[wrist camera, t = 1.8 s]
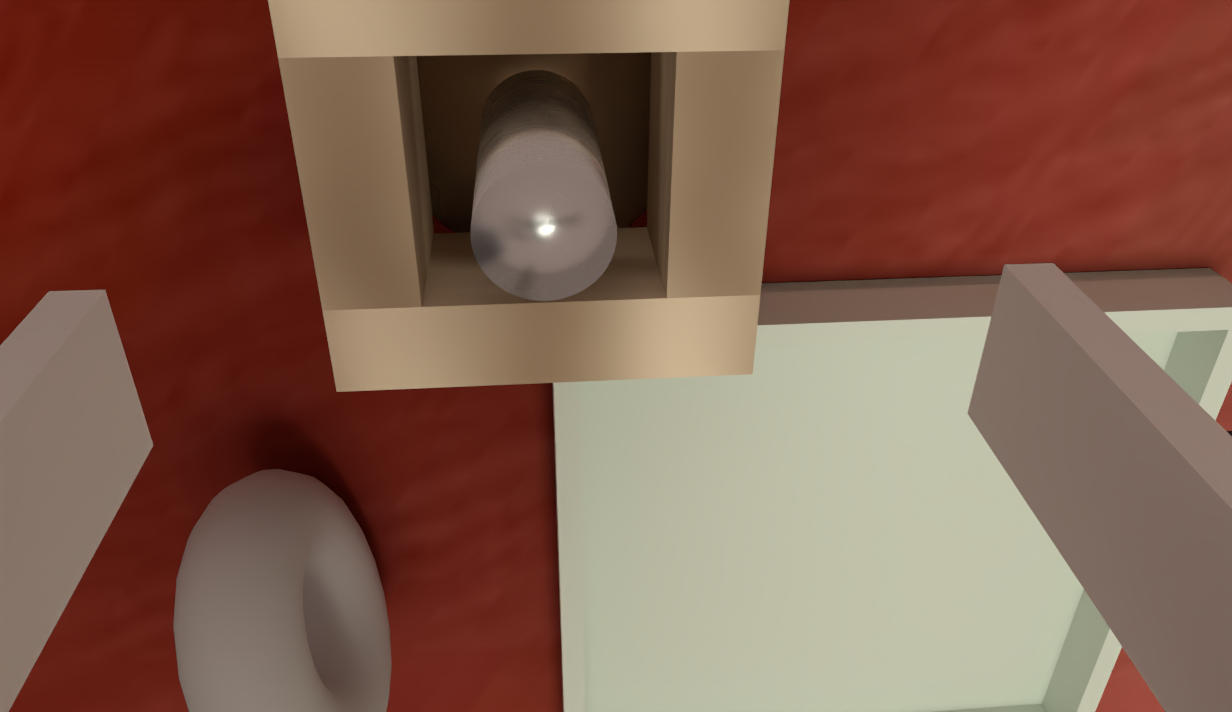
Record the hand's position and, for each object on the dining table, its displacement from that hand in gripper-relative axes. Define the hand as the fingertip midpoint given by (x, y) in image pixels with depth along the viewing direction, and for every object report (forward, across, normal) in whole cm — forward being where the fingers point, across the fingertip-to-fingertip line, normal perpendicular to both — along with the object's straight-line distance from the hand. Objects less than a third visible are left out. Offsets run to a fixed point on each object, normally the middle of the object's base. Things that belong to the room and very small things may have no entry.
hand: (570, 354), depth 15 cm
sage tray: (+14, -10, +17) cm, 25 cm away
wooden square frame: (+11, 0, 0) cm, 11 cm away
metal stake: (+14, 0, 0) cm, 14 cm away
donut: (+14, +8, +15) cm, 22 cm away
